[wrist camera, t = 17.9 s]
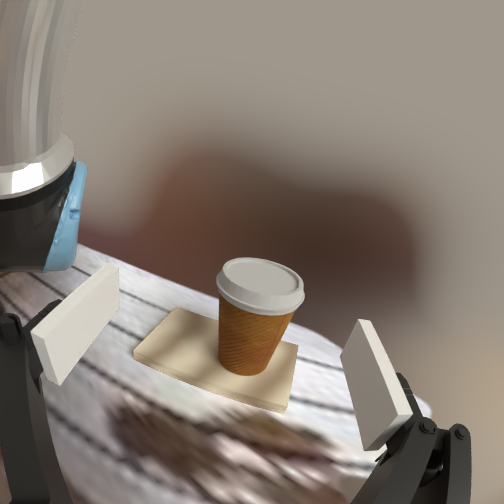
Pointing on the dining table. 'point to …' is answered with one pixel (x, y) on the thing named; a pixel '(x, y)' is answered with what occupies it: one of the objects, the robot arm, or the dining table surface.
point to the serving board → (215, 361)
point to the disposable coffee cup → (254, 312)
